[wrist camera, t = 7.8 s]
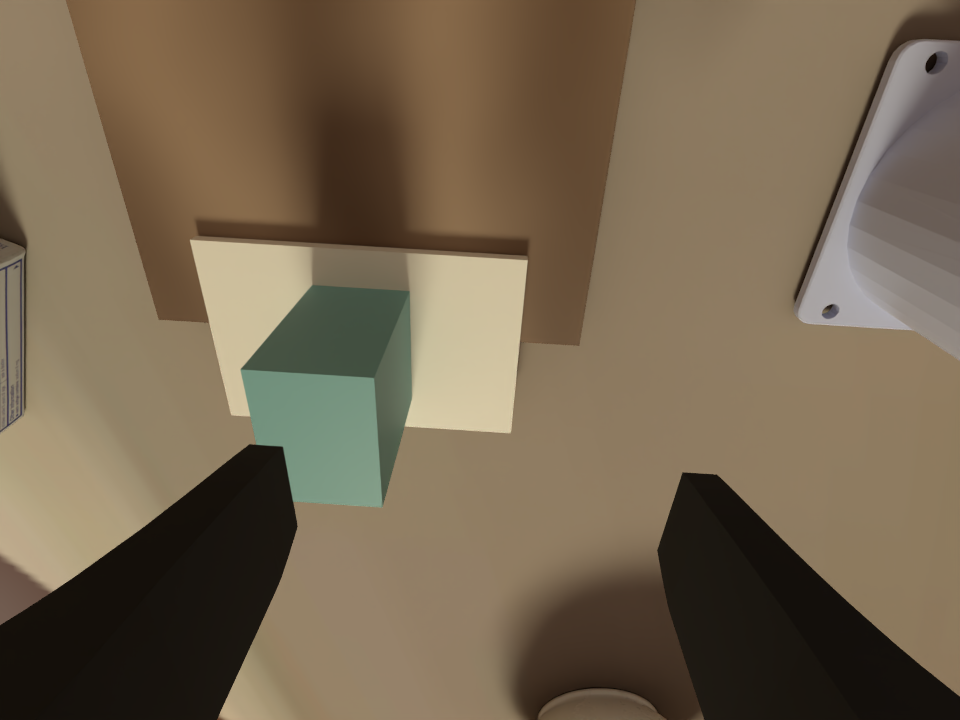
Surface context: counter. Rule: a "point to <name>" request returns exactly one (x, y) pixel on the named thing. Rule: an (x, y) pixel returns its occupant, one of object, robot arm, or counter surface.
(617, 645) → the counter surface
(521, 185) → the board
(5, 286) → the medicine box
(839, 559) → the counter surface
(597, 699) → the lidded bowl
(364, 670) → the counter surface
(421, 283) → the cream plaque with block
